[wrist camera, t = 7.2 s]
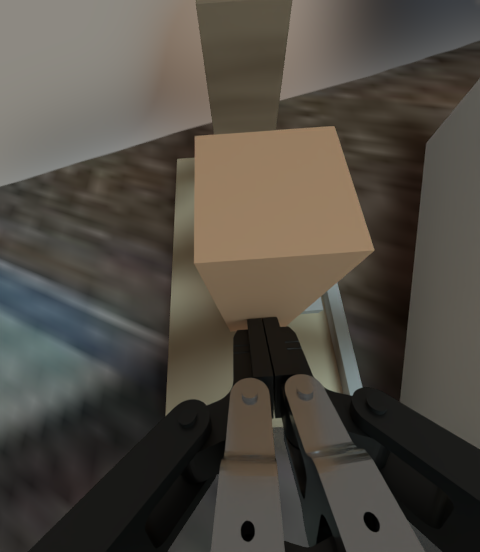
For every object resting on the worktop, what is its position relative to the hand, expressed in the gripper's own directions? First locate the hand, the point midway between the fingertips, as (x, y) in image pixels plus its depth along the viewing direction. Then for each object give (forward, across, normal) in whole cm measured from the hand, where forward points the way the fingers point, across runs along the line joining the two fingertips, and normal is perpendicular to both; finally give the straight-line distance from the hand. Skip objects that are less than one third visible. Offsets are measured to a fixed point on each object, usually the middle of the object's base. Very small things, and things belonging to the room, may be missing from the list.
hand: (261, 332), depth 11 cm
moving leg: (+4, -1, +1) cm, 4 cm away
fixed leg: (+12, -1, -7) cm, 13 cm away
